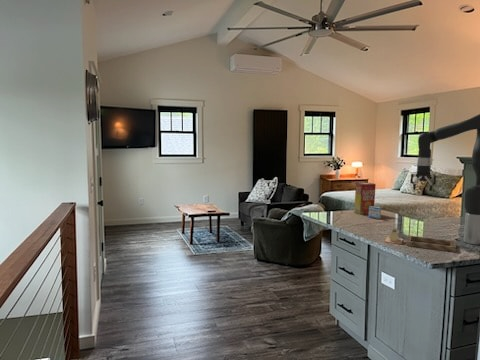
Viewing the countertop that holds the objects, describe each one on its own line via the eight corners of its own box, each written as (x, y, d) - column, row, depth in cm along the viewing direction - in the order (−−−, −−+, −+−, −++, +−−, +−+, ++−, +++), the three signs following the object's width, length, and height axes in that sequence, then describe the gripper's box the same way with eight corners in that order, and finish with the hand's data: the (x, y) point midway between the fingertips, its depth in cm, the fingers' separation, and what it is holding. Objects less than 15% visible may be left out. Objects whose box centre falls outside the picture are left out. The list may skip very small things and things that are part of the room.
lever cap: (398, 239, 214) (398, 228, 214) (397, 241, 208) (397, 231, 207) (391, 238, 216) (391, 228, 215) (389, 240, 210) (390, 230, 209)
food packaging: (360, 214, 290) (361, 184, 287) (353, 212, 299) (355, 182, 296) (374, 214, 293) (376, 183, 291) (367, 212, 302) (369, 182, 300)
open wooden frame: (454, 245, 204) (454, 240, 204) (455, 252, 191) (456, 247, 191) (407, 239, 216) (407, 235, 215) (406, 245, 202) (406, 241, 202)
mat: (402, 239, 215) (402, 238, 215) (401, 244, 205) (401, 243, 205) (386, 237, 219) (386, 236, 219) (384, 242, 209) (384, 241, 209)
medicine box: (368, 217, 279) (368, 206, 278) (370, 216, 282) (371, 205, 282) (378, 219, 274) (379, 207, 273) (380, 218, 277) (381, 207, 276)
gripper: (436, 165, 224) (435, 191, 225) (411, 164, 230) (410, 189, 232) (437, 165, 217) (435, 192, 219) (411, 164, 224) (409, 190, 225)
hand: (422, 190), depth 225 cm, fingers open, 8 cm apart
